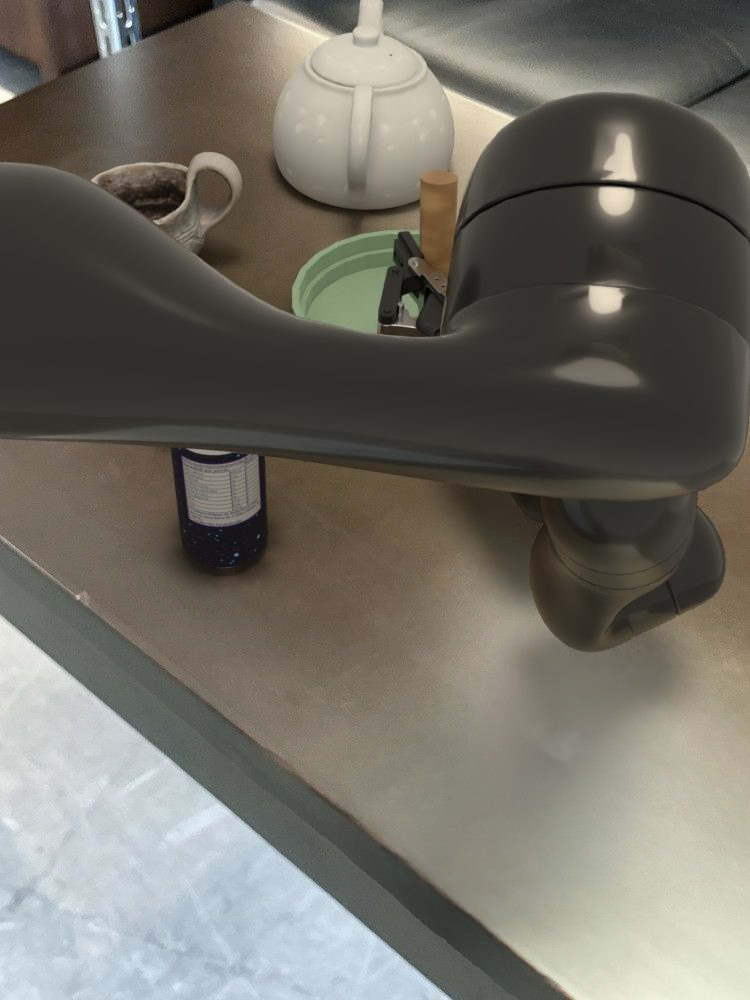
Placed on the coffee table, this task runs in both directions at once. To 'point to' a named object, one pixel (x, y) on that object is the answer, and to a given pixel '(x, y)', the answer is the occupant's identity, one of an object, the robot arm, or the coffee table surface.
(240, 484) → the beverage can
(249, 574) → the coffee table surface
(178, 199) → the mug
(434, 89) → the teapot
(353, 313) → the pan
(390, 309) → the robot arm
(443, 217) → the brush
